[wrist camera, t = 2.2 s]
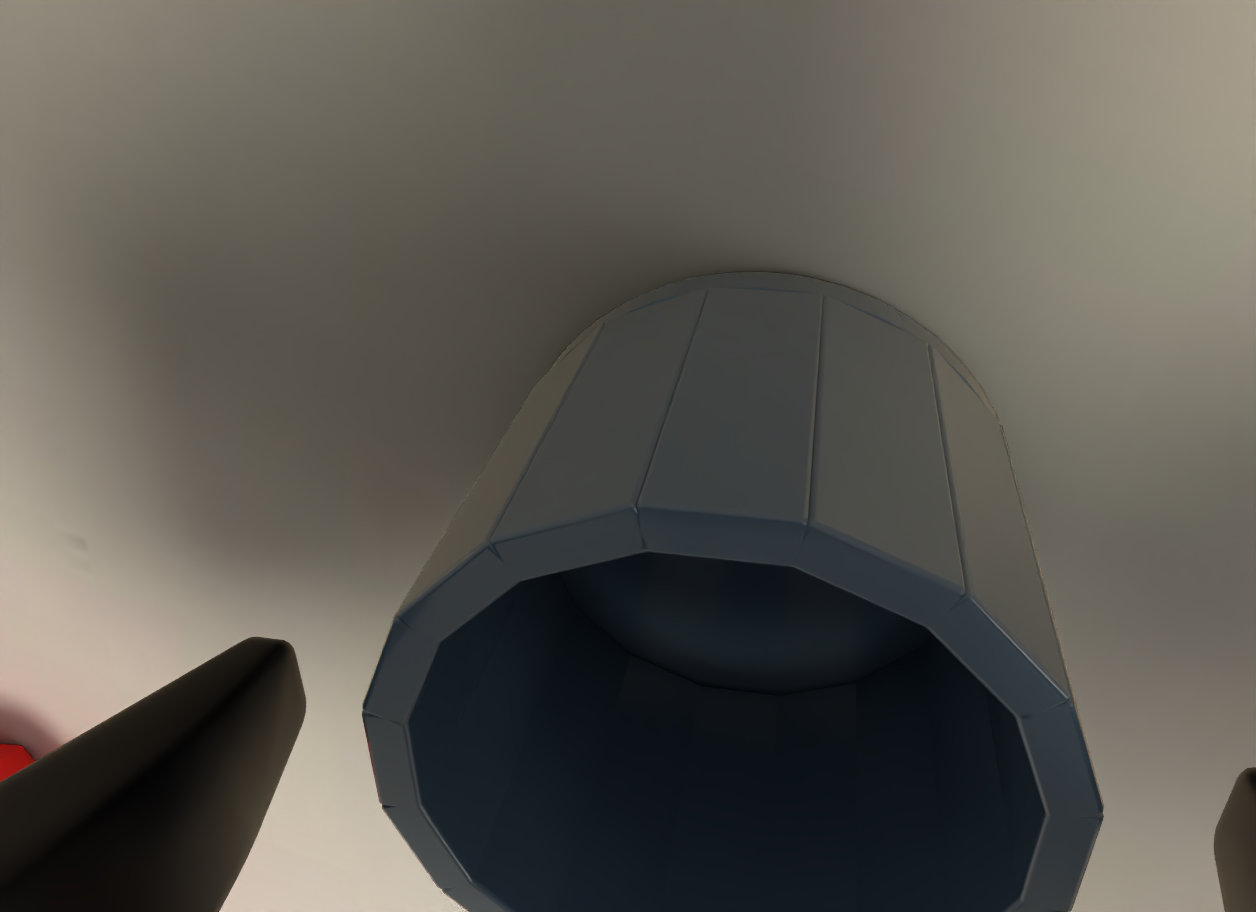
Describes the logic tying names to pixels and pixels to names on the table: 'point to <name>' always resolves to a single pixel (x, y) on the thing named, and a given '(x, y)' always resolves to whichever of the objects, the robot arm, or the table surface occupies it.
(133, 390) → the table surface
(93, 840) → the robot arm
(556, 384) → the enamel cup
